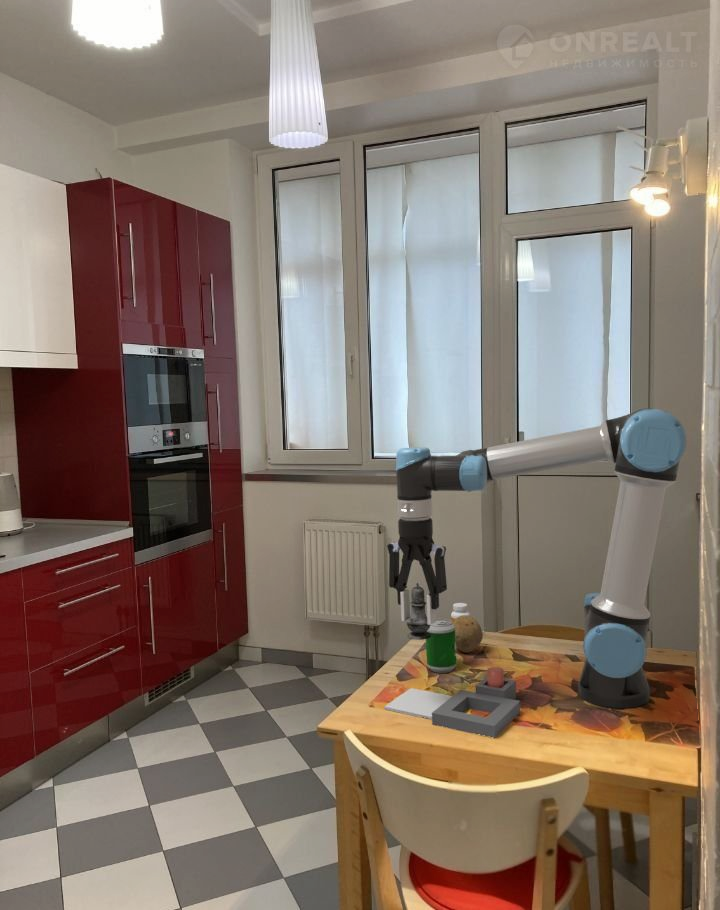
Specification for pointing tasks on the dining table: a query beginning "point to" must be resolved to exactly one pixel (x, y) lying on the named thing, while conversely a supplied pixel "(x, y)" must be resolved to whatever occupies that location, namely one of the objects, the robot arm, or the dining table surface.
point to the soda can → (441, 646)
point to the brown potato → (467, 633)
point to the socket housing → (484, 700)
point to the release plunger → (495, 677)
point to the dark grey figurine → (418, 616)
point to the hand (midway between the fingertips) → (418, 621)
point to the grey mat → (417, 703)
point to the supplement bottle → (459, 611)
